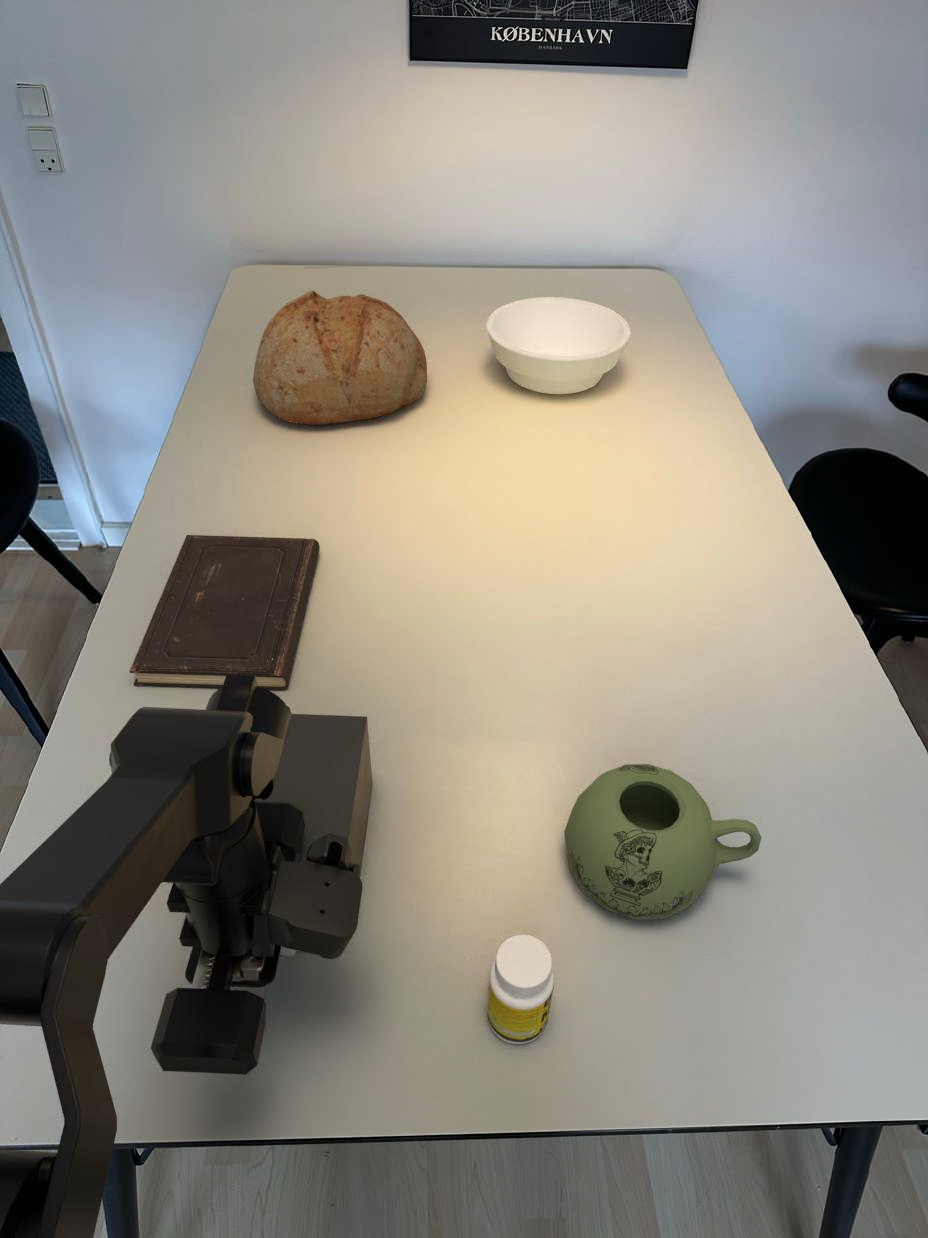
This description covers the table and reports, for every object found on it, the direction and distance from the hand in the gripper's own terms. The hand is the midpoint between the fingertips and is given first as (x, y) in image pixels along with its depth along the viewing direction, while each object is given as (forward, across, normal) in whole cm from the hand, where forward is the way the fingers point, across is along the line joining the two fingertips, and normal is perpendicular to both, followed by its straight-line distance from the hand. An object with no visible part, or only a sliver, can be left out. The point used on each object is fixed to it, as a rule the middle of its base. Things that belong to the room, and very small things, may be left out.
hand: (253, 984), depth 66 cm
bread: (+2, +96, +6) cm, 96 cm away
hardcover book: (+3, +44, +12) cm, 46 cm away
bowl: (+2, +104, -26) cm, 108 cm away
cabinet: (+3, +14, 0) cm, 15 cm away
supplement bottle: (+4, 0, -20) cm, 20 cm away
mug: (+4, +14, -32) cm, 35 cm away
